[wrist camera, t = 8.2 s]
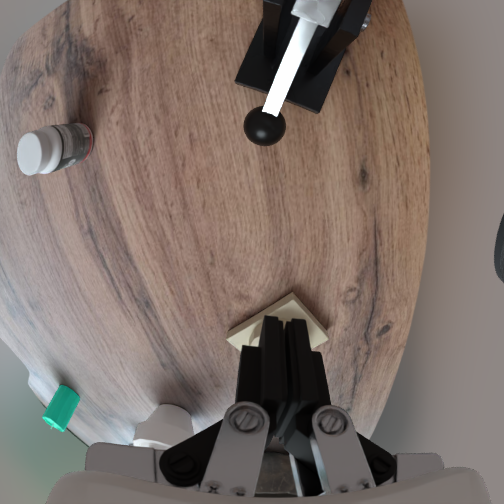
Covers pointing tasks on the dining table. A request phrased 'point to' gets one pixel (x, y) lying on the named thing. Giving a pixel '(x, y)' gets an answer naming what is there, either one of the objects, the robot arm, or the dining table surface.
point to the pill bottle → (54, 148)
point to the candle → (61, 408)
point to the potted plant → (164, 428)
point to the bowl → (275, 477)
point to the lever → (288, 71)
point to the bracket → (316, 56)
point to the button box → (285, 312)
